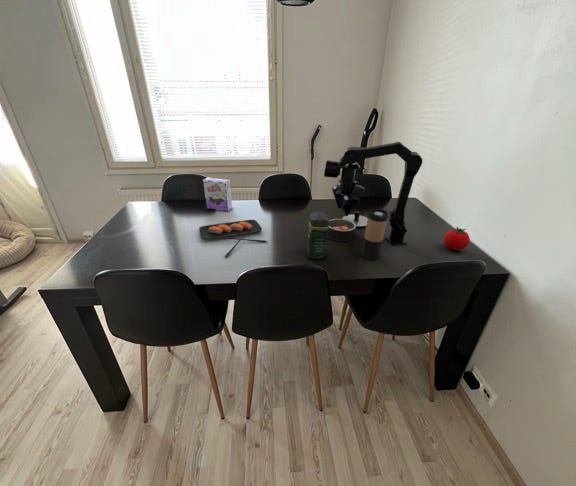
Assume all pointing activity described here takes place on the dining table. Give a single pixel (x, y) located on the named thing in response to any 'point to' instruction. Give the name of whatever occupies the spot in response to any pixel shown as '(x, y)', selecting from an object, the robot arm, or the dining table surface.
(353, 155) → the robot arm
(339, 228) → the sushi
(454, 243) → the tomato
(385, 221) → the travel mug
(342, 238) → the pan
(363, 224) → the pan lid
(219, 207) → the candy box
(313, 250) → the coffee jar
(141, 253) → the dining table surface
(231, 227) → the sushi plate
